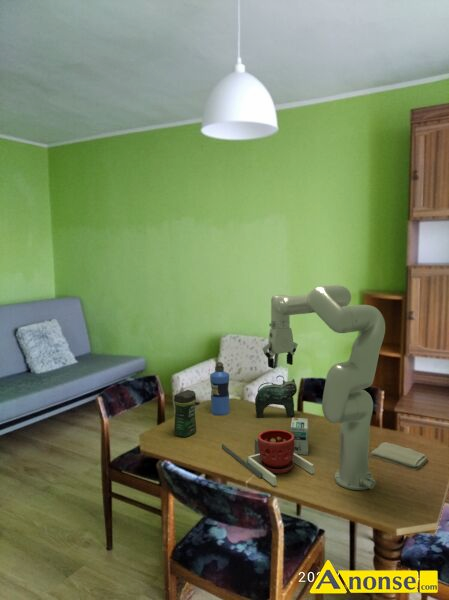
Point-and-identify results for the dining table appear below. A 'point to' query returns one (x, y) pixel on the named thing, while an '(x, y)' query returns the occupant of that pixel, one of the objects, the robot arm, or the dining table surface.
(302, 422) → the light bulb box
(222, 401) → the water bottle
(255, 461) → the white u-shaped frame
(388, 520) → the dining table surface
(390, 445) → the washcloth
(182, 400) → the coffee jar
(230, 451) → the lane rails
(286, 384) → the ceramic cat
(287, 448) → the plant pot
